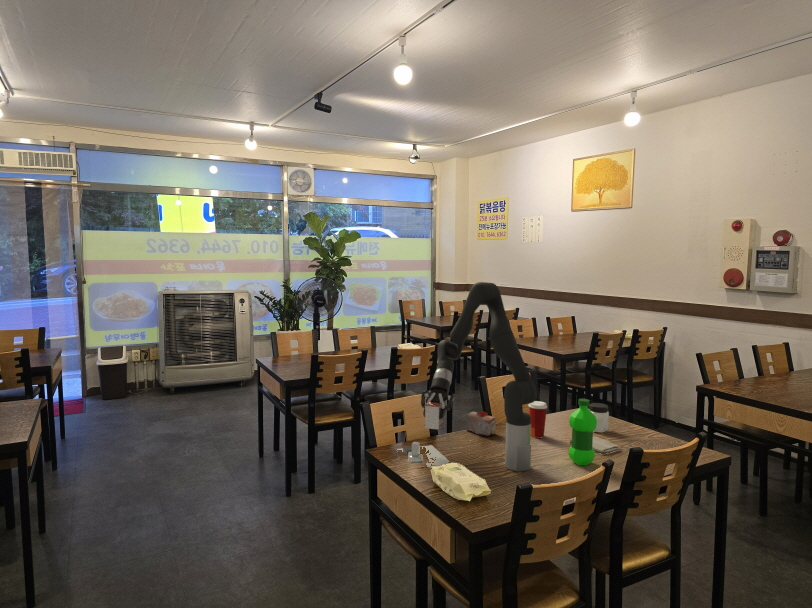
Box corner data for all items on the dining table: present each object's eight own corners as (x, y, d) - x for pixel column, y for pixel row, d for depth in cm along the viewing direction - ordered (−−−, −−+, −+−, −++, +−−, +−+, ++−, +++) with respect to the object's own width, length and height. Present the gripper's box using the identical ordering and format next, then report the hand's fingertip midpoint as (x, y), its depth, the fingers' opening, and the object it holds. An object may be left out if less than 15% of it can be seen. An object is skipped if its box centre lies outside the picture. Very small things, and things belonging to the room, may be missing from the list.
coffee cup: (548, 435, 240) (550, 402, 239) (542, 440, 233) (544, 406, 232) (530, 431, 244) (531, 399, 243) (524, 436, 238) (525, 403, 236)
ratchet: (425, 462, 204) (425, 445, 204) (410, 464, 202) (410, 446, 202) (413, 450, 217) (414, 433, 216) (399, 452, 215) (399, 435, 214)
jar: (601, 434, 242) (602, 408, 241) (584, 430, 248) (585, 405, 247) (610, 430, 248) (611, 405, 247) (593, 426, 254) (595, 401, 253)
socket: (443, 425, 215) (443, 402, 214) (439, 429, 209) (439, 405, 209) (429, 423, 217) (429, 401, 216) (424, 428, 212) (424, 404, 211)
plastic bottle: (564, 458, 212) (566, 396, 210) (590, 458, 212) (593, 397, 210) (571, 467, 202) (573, 403, 200) (599, 468, 202) (602, 403, 200)
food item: (498, 434, 241) (499, 412, 240) (489, 438, 235) (489, 416, 234) (473, 427, 250) (474, 406, 249) (463, 431, 244) (464, 410, 243)
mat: (453, 465, 203) (453, 464, 203) (413, 470, 198) (413, 469, 198) (431, 446, 224) (431, 445, 224) (395, 449, 219) (395, 449, 219)
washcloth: (603, 457, 215) (604, 449, 215) (568, 444, 230) (568, 437, 230) (621, 452, 222) (622, 444, 222) (586, 439, 237) (586, 432, 237)
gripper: (423, 375, 221) (413, 411, 211) (456, 378, 216) (448, 414, 206) (427, 385, 227) (417, 420, 216) (460, 388, 222) (452, 424, 211)
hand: (432, 417), depth 211 cm, fingers closed on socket, 5 cm apart
